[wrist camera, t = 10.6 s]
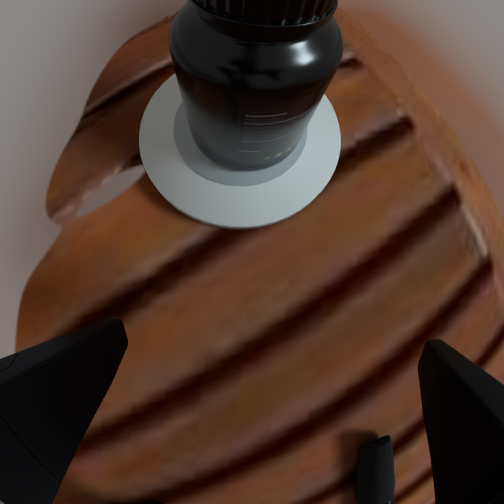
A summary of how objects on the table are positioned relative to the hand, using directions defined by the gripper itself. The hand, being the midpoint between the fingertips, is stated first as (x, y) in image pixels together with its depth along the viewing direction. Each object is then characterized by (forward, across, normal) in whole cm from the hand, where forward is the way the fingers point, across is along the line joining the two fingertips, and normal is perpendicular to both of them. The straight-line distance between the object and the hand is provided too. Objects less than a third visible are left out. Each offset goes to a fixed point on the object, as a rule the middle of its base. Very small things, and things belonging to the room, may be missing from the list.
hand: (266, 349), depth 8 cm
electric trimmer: (+4, -9, +21) cm, 23 cm away
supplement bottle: (+12, +3, -6) cm, 14 cm away
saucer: (+14, +4, -6) cm, 15 cm away
